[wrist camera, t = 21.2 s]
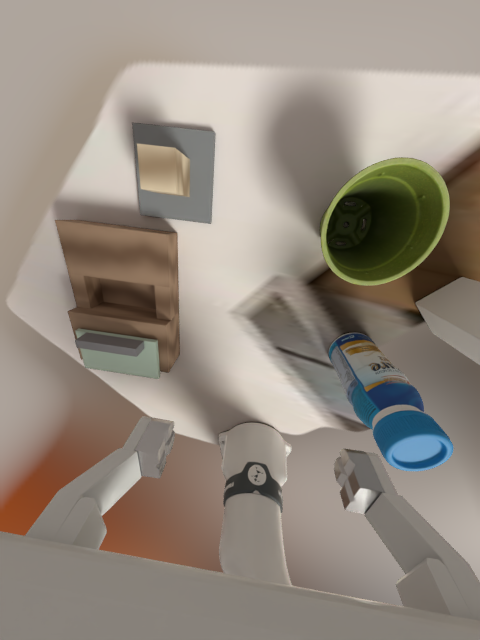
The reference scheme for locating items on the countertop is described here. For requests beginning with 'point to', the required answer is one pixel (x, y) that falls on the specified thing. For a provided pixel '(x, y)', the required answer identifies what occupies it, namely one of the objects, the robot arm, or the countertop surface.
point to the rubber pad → (201, 172)
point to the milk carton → (455, 315)
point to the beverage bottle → (388, 405)
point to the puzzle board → (124, 282)
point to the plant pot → (385, 221)
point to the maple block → (163, 170)
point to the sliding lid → (119, 353)
